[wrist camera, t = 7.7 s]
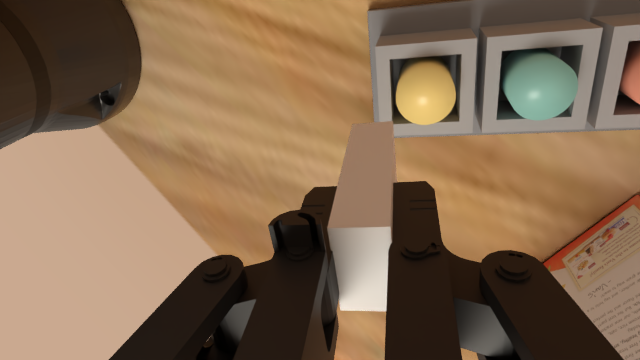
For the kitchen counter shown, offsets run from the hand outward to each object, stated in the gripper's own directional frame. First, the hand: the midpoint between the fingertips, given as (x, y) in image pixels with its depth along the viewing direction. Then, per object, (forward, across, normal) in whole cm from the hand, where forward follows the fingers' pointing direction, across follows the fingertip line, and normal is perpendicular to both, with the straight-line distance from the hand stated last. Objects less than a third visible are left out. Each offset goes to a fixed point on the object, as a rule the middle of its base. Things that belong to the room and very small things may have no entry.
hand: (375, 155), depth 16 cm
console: (+19, +10, -2) cm, 21 cm away
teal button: (+17, +10, -2) cm, 19 cm away
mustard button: (+17, +3, -2) cm, 17 cm away
